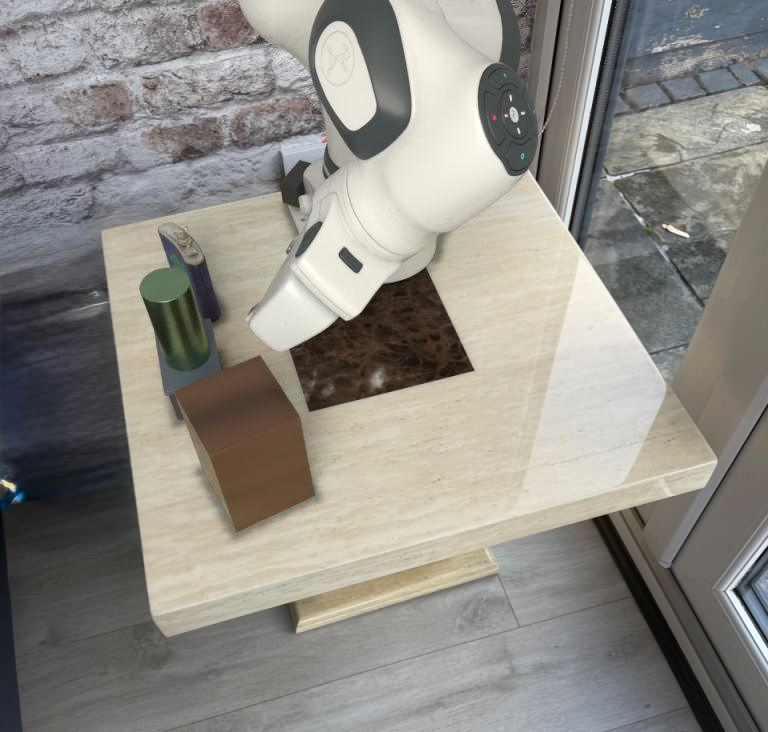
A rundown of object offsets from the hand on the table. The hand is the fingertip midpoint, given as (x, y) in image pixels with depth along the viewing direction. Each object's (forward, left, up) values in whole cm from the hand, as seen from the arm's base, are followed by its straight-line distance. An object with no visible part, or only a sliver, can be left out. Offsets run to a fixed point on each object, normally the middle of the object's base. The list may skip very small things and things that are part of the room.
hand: (274, 285), depth 79 cm
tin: (-9, -8, -13) cm, 18 cm away
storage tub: (-9, -8, -18) cm, 22 cm away
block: (+7, -8, -18) cm, 21 cm away
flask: (-22, -3, -18) cm, 29 cm away
